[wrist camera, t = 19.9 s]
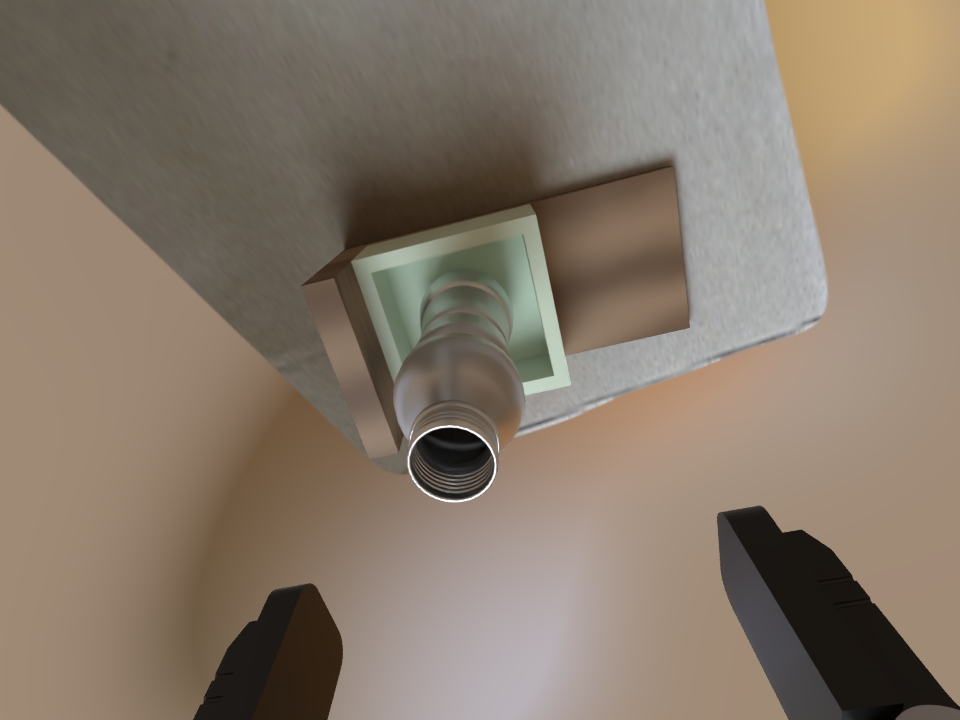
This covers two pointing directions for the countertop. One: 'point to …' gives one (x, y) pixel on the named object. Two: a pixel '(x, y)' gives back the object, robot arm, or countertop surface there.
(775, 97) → the countertop surface
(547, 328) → the socket block
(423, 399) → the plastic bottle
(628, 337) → the backstop
